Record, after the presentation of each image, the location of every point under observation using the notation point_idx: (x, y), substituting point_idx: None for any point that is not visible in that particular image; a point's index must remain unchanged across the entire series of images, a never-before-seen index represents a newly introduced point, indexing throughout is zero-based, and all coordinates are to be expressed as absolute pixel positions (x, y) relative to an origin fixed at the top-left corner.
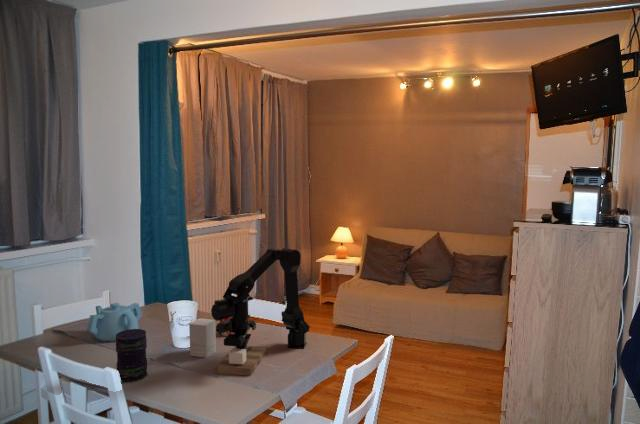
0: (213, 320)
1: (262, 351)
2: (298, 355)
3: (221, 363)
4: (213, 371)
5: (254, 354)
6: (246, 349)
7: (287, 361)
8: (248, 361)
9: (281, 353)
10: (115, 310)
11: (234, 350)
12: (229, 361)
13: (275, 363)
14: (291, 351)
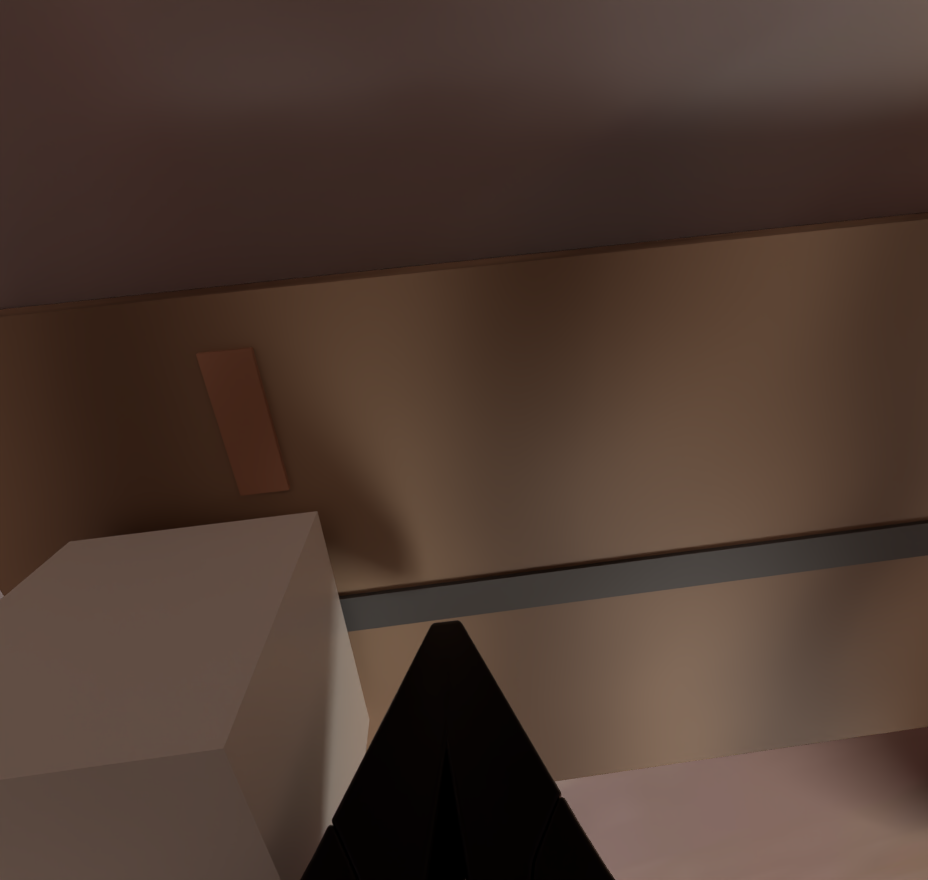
0: None
1: (780, 740)
2: (796, 876)
3: (39, 350)
4: (9, 185)
5: (655, 699)
6: (882, 506)
7: (650, 858)
8: (369, 730)
9: (854, 762)
10: None
11: (61, 869)
12: (41, 579)
13: (585, 803)
14: (901, 810)
